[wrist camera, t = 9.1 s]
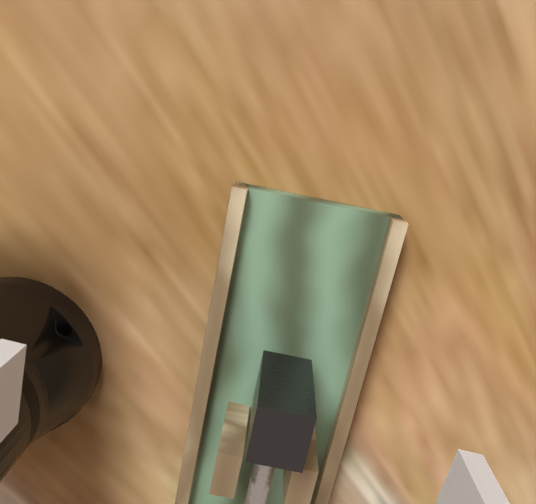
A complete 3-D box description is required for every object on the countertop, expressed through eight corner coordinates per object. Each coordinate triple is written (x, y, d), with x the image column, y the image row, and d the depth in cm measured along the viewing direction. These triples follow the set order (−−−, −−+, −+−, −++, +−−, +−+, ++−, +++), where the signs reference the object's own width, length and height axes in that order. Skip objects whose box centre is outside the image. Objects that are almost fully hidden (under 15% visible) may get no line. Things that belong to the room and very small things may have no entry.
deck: (162, 589, 54) (137, 680, 45) (236, 181, 42) (222, 200, 33) (287, 614, 54) (287, 709, 46) (399, 215, 42) (427, 242, 33)
